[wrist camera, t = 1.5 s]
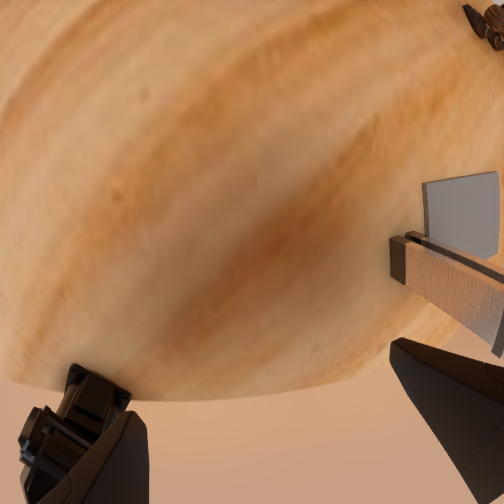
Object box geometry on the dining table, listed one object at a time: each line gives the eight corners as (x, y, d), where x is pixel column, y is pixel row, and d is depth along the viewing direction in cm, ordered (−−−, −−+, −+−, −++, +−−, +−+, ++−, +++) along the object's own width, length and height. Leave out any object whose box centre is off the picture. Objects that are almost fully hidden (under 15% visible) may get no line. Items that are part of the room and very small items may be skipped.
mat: (424, 287, 22) (427, 289, 22) (422, 183, 19) (426, 184, 19) (494, 251, 23) (497, 253, 23) (494, 171, 20) (498, 172, 20)
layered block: (388, 278, 21) (520, 375, 7) (387, 237, 20) (543, 318, 6) (415, 268, 22) (542, 348, 7) (414, 229, 21) (561, 293, 6)
